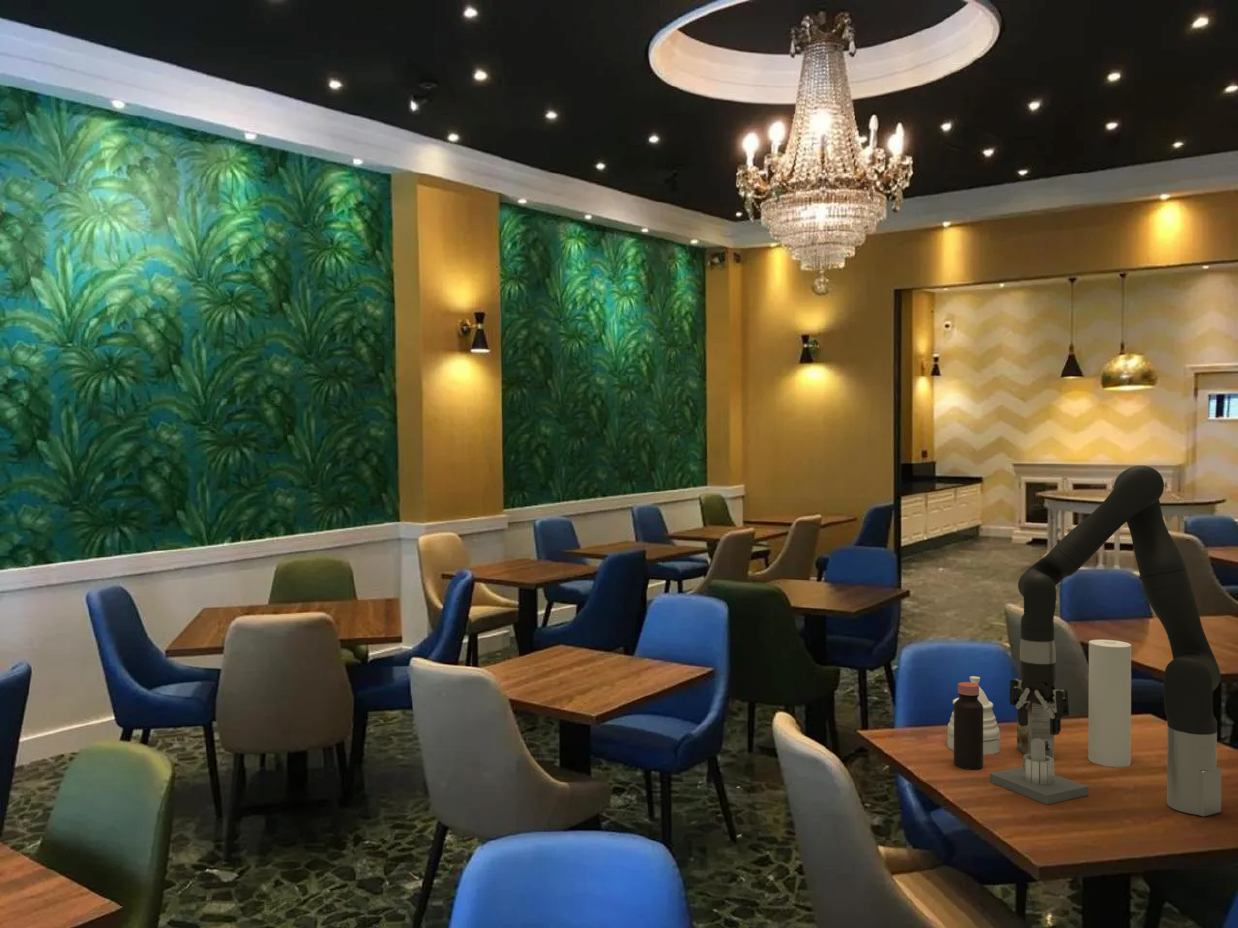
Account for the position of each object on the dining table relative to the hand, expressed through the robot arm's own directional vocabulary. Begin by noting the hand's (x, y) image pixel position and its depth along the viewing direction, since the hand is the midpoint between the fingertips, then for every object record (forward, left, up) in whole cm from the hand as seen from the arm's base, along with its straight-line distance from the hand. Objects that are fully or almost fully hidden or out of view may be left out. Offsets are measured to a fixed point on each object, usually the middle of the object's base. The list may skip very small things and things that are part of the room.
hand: (1038, 729), depth 218 cm
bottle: (+19, +2, -14) cm, 24 cm away
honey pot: (+29, -10, -14) cm, 34 cm away
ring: (0, 0, -12) cm, 12 cm away
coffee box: (+18, -20, -14) cm, 31 cm away
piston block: (0, 0, -14) cm, 14 cm away
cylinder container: (+6, -32, -14) cm, 36 cm away
